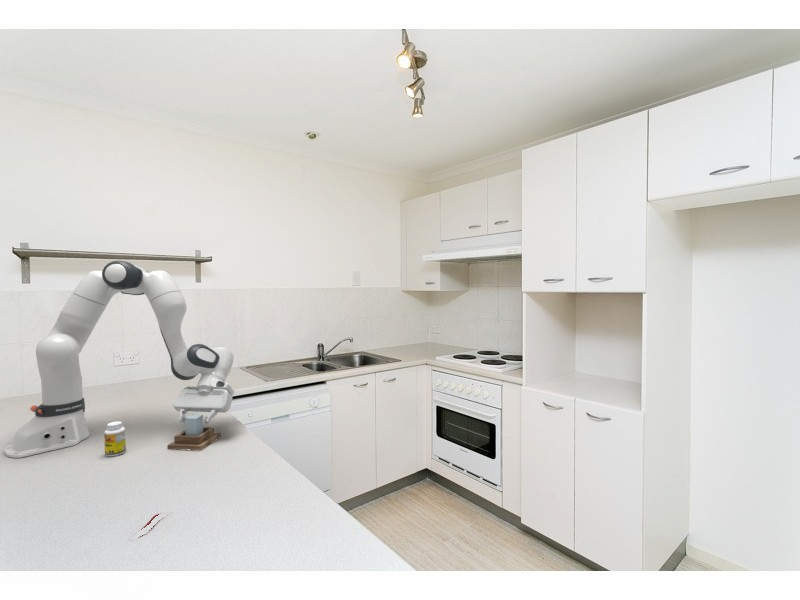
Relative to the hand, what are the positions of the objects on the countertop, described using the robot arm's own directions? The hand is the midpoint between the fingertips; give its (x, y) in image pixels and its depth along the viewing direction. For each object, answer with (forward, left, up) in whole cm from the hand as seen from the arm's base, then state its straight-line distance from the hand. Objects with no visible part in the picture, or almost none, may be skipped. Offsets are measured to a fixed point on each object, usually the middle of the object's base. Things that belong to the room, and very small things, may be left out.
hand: (194, 422), depth 137 cm
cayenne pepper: (-31, -38, -8) cm, 49 cm away
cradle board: (0, 0, -8) cm, 8 cm away
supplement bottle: (-19, +14, -8) cm, 25 cm away
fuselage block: (0, 0, -6) cm, 6 cm away
